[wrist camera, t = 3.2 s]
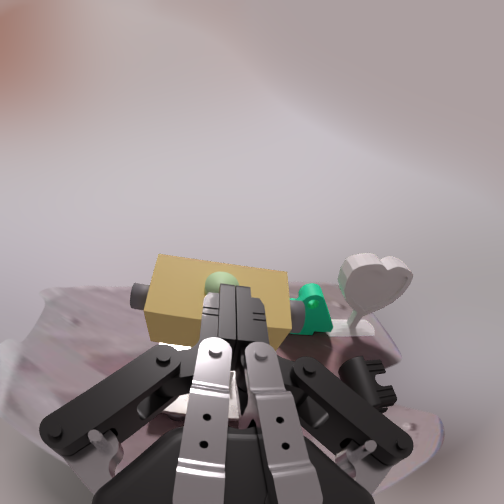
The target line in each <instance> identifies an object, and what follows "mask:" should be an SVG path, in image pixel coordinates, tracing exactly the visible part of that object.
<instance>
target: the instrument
mask: <svg viewBox="0 0 504 504" xmlns="http://www.w3.org/2000/svg"><path fill="white" fill-rule="evenodd" d="M220 283H223V284H230V285H235V286H236V285H238V286H246V287H250V288H251V297H253V298H260V300H261V301H262V303H263V304H264V306H265V315H266V321H267V329H268V336H269V344H270V346H272V347H273V348H274V350H275V351H276V350H277V349H278V347H279V346H280V345H281V343H282V342H283V341H284V339H285V338H286V337H287V335H288V334H289V333H300V332H301V330H302V328H303V326H304V322H305V305H304V303H303V302H302V301H297V300H290V298H289V287H288V277H287V272H284V271H276V270H269V269H262V268H254V267H247V266H240V265H232V264H225V263H218V262H211V261H204V260H197V259H190V258H183V257H177V256H170V255H163V254H158V258H157V262H156V265H155V269H154V272H153V276H152V280H151V283H150V285H144V284H138V283H134V285H133V287H132V290H131V296H130V306H131V308H133V309H139V310H144V315H145V319H146V323H147V328H148V332H149V336H150V340H151V341H153V342H159V343H165V344H172V345H178V346H185V347H193V346H195V345H196V344H197V343H198V341H199V338H200V328H201V318H202V310H203V301H204V298H205V296H206V295H207V294H208V293H209V292H212V293H219V287H220Z"/></svg>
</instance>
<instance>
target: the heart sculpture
mask: <svg viewBox="0 0 504 504" xmlns="http://www.w3.org/2000/svg"><path fill="white" fill-rule="evenodd" d="M412 278H413V274H412V272H411V271H410V270H409V268H408V267H407V266H406V265H405V264H404V262H402V261H401V260H400V259H398V258H395V257H391V256H388V257H385V258H382V259H379V258H378V257H377V256H376V255H375V254H372V253H362V254H356V255H352V256H350V257H348V258H347V259H346V260H345V261H344V263H343V265H342V266H341V269H340V273H339V276H338V282H339V286H340V290H341V292H342V294H343V296H344V298H345V300H346V301H347V303H348V304H349V305H350V307H351V308H352V309H354V310H353V312H352V313H351V315H350V317H349V319H348V320H334V319H331V320H332V324H333V329H332V331H331V332H326V334H327V335H328V336H374V327H373V326H372V325H371V324H370V323H369V322H368V321H367V320H360V319H361V318H362V317H363V316H365V315H367V314H370V313H372V312H375V311H377V310H379V309H382V308H384V307H385V306H387V305H389V304H391V303H393V302H394V301H395V300H396V299H398V298H399V297H400V296H401V295H402V294H403V293H404V292H405V290H406V289H407V288H408V286H409V285H410V283H411V281H412Z"/></svg>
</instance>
